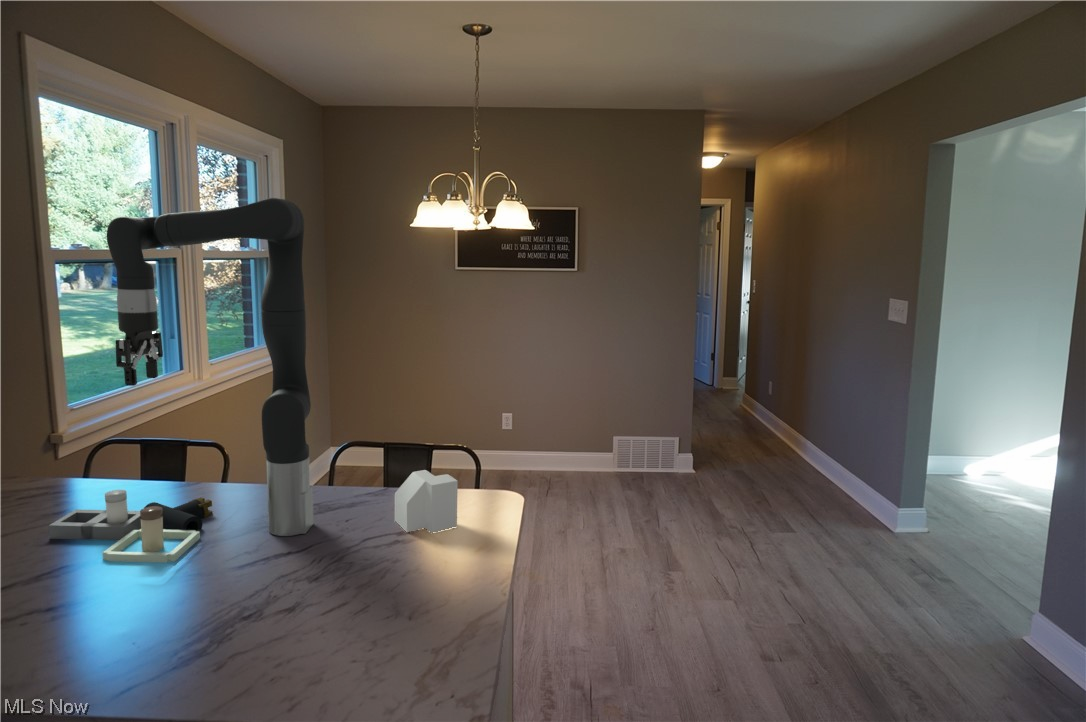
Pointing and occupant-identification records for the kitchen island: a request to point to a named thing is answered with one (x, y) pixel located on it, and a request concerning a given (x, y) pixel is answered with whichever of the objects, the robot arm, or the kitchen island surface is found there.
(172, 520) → the pipe connector
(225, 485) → the kitchen island surface
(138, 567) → the kitchen island surface
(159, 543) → the cylinder
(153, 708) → the kitchen island surface
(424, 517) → the pale house-shaped block
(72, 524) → the fuse block
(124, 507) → the cylinder
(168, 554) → the parts tray
